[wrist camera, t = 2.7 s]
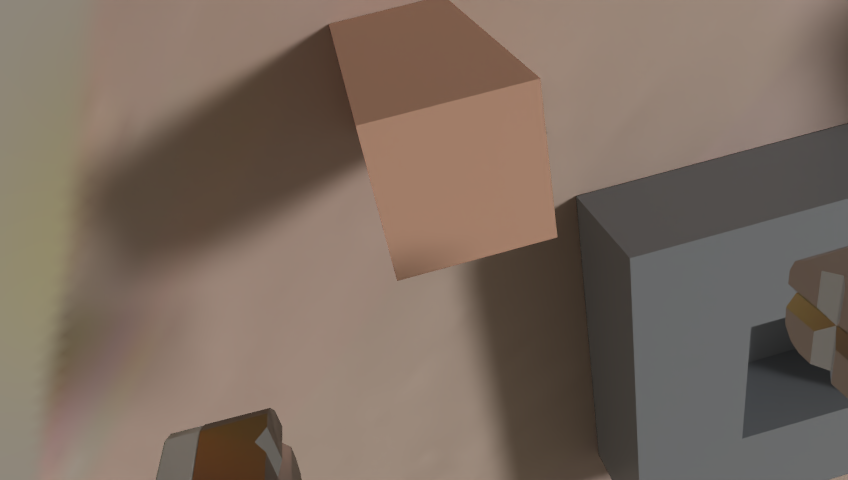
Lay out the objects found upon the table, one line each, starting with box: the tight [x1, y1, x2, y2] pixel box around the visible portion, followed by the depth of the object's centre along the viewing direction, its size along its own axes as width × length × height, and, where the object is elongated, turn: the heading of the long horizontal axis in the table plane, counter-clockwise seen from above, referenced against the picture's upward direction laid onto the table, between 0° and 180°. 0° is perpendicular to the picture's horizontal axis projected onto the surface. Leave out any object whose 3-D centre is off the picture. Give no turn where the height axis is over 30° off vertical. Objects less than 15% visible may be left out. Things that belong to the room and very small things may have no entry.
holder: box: [576, 124, 848, 480], centre depth 30 cm, size 16×16×5 cm
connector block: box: [329, 0, 557, 281], centre depth 19 cm, size 4×4×10 cm
